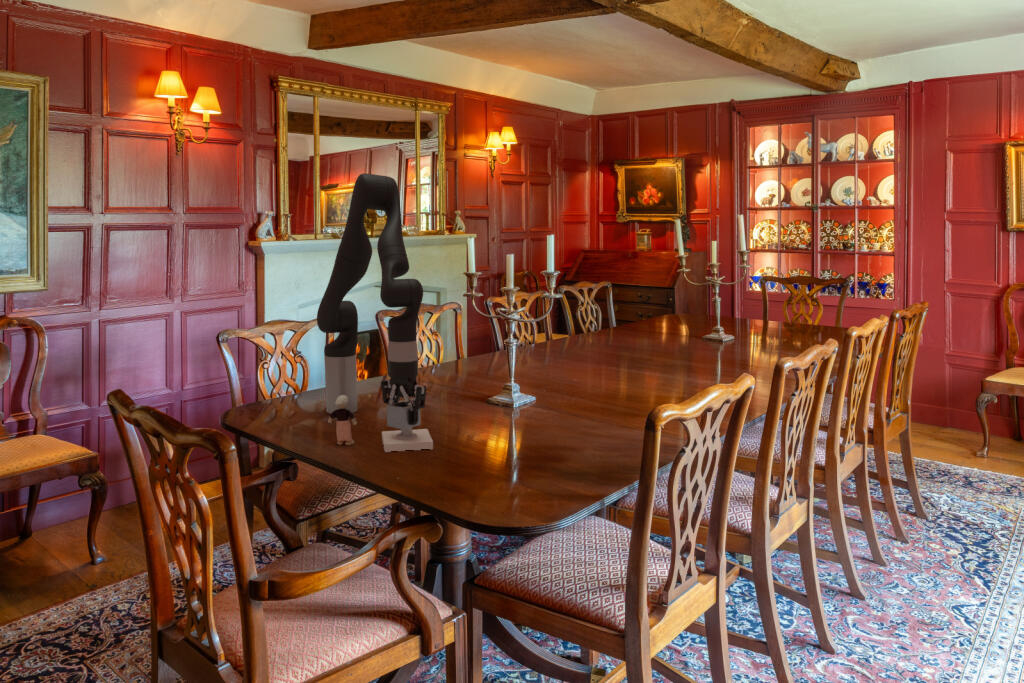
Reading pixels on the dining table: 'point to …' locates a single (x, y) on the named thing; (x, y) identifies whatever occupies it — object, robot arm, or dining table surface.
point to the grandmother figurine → (343, 421)
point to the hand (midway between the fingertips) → (403, 422)
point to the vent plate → (406, 440)
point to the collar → (400, 416)
